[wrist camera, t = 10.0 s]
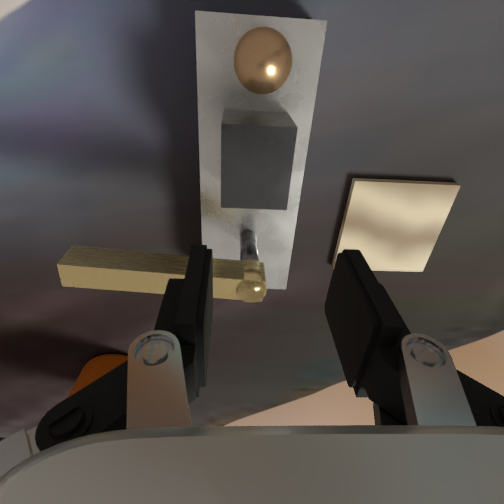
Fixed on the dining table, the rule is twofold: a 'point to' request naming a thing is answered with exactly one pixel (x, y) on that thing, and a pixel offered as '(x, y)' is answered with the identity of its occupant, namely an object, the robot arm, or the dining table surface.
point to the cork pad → (395, 221)
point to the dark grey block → (256, 159)
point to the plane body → (254, 99)
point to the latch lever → (156, 272)
